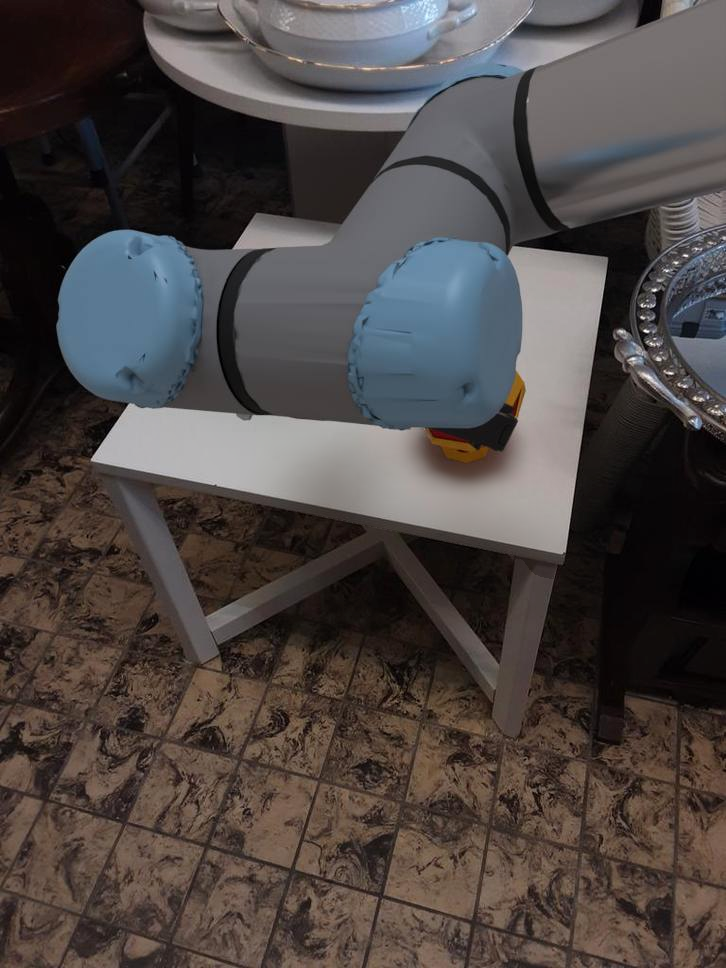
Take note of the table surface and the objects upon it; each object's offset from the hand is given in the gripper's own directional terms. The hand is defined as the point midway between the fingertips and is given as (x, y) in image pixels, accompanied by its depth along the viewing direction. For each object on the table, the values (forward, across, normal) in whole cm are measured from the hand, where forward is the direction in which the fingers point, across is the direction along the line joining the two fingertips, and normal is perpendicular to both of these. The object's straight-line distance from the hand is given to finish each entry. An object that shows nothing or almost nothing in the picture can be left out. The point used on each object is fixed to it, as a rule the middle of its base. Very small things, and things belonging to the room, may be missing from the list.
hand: (433, 385), depth 65 cm
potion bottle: (+14, 0, -5) cm, 15 cm away
